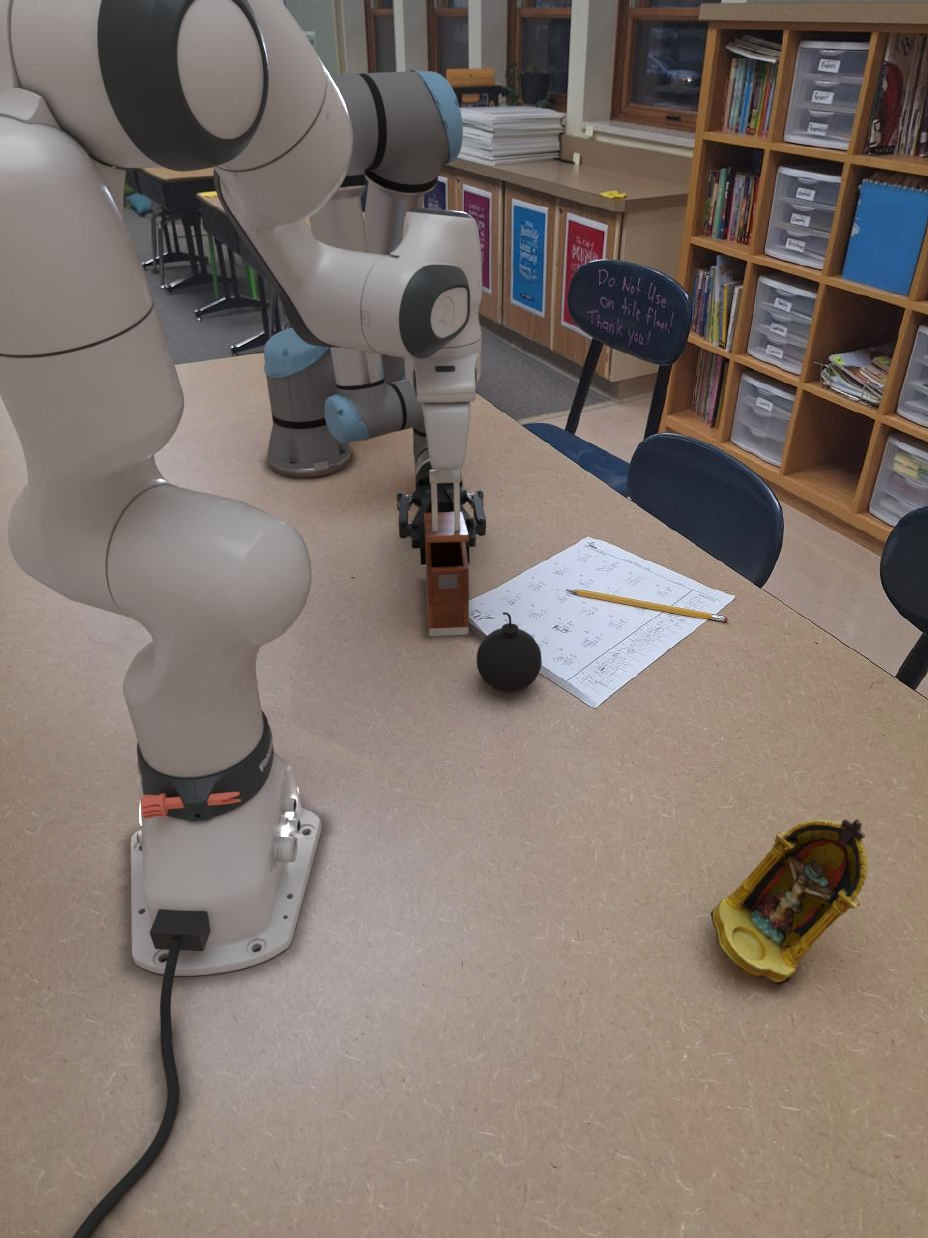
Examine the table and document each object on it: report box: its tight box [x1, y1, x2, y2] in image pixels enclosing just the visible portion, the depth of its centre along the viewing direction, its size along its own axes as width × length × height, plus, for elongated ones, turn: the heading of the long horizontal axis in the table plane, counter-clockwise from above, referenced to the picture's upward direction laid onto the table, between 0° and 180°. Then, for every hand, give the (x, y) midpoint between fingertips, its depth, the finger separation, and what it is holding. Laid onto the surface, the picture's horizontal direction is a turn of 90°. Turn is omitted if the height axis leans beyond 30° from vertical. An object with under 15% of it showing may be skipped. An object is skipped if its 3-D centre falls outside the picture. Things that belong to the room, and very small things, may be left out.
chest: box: [424, 523, 470, 637], centre depth 117 cm, size 13×5×10 cm, turn 4°
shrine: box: [710, 818, 868, 986], centre depth 72 cm, size 12×8×15 cm
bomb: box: [476, 611, 543, 694], centre depth 103 cm, size 8×8×12 cm
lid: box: [424, 470, 469, 543], centre depth 112 cm, size 14×5×9 cm, turn 4°
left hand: (444, 472), depth 106 cm, fingers closed, pressing on lid
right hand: (444, 555), depth 119 cm, fingers closed on chest, 5 cm apart
